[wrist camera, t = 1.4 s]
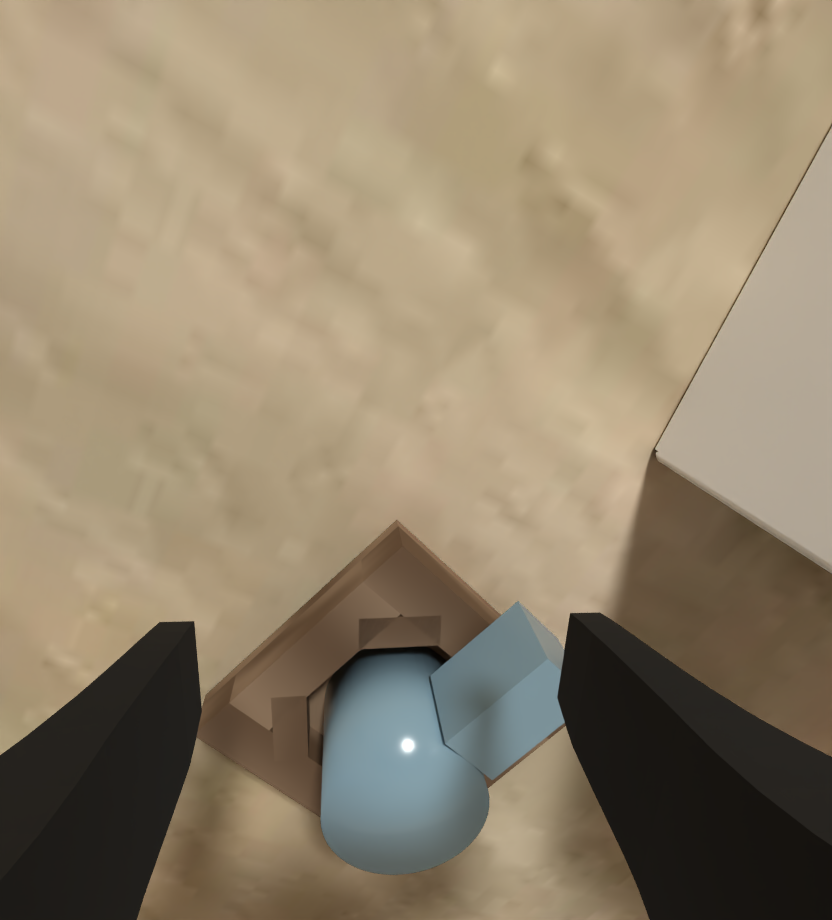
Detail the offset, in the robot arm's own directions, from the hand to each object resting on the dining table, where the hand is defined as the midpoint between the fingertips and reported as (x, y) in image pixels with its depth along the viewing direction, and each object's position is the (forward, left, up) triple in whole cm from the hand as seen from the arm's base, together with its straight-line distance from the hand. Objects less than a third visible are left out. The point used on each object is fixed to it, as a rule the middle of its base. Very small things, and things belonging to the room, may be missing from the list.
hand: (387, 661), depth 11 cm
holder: (-5, -7, -10) cm, 13 cm away
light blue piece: (-3, -7, -9) cm, 12 cm away
